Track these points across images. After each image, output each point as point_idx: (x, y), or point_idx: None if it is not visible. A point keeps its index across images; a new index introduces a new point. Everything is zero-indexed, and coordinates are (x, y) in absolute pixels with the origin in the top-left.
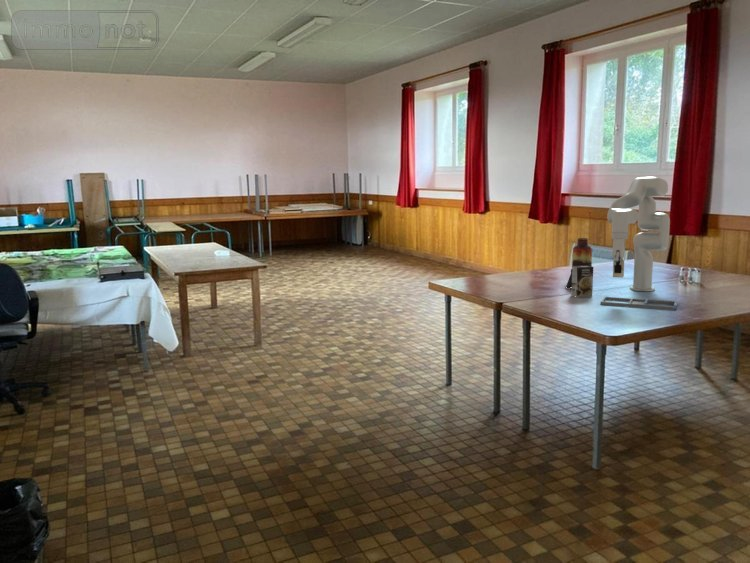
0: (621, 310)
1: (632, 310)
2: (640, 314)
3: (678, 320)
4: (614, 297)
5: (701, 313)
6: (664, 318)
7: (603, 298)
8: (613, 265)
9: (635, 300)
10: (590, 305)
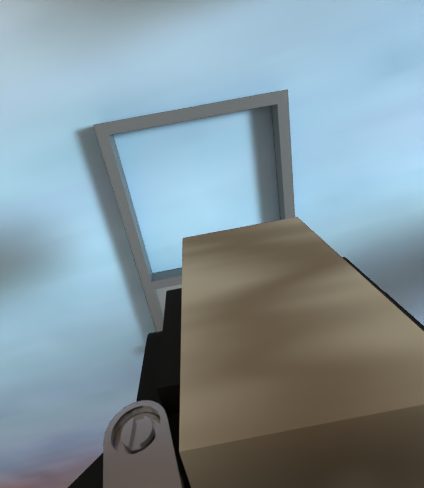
0: (31, 277)
1: (71, 316)
2: (12, 365)
3: (19, 474)
4: (287, 160)
5: None
6: (13, 441)
7: (219, 104)
8: (183, 348)
9: None
10: (30, 66)
